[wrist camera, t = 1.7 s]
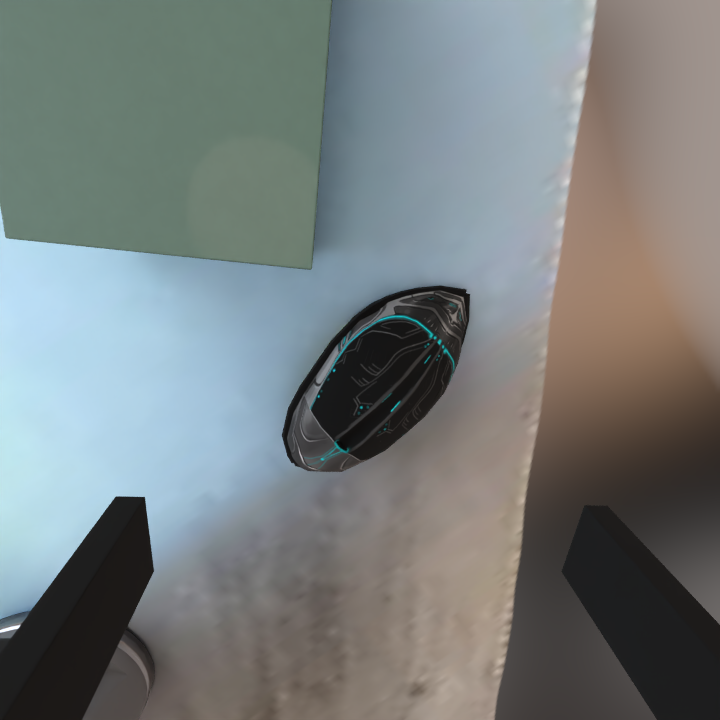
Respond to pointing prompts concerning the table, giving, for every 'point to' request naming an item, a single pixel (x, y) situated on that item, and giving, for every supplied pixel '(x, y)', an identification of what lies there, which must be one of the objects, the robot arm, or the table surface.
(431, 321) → the computer mouse
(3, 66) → the desk shelf
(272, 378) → the table surface
